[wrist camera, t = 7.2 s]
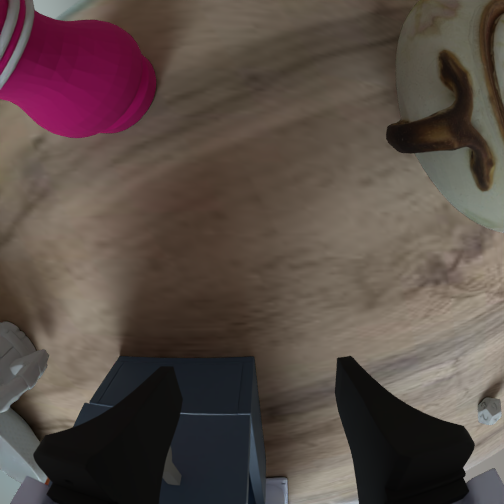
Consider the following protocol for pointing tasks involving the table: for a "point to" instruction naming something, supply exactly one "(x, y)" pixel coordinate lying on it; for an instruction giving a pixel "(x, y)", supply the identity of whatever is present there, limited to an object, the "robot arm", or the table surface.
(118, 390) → the compartment
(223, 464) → the lid
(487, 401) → the game die
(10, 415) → the cereal bowl
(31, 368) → the mug
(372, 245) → the table surface
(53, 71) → the pepper mill
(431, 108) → the sugar bowl
